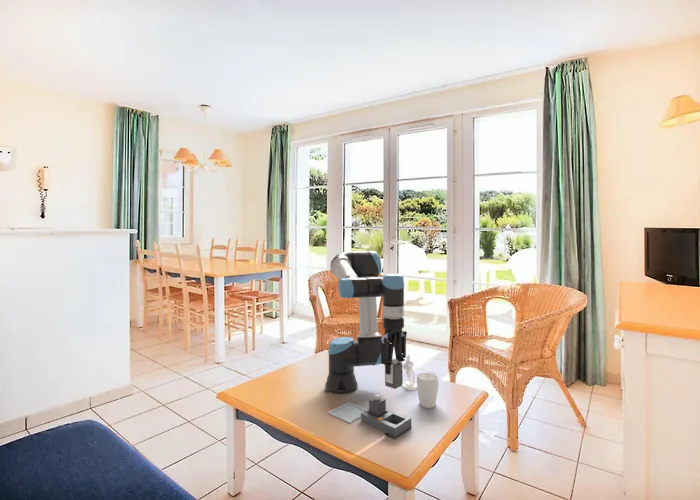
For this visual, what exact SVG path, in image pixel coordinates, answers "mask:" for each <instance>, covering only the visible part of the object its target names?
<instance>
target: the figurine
mask: <svg viewBox="0 0 700 500" xmlns="http://www.w3.org/2000/svg"><path fill="white" fill-rule="evenodd" d="M410 356H411V355H410V354H407V355H406V357H405V358H406V359H405V361H404V363H402V370H405V374H406V376H407V378H408V381H403V385H402V386H400V388H402V389H403V390H406V391H416V390H417V381H416V382H415V372H414V369H413V367H414V362H413V361H412V360H411V357H410ZM417 391H418V390H417Z"/></svg>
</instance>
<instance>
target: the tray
mask: <svg viewBox="0 0 700 500" xmlns="http://www.w3.org/2000/svg"><path fill="white" fill-rule="evenodd" d="M367 410H368V409H366V408H364V407H362V406H359V405H357V404H354V403H352V402H346V403H344V404H341V405H339V406H337V407H336V408H333V409H331V410H329V411H327V414H328V415H330V416H333V417H335V418H336V419H338V420H341V421H343V422H345V423H347V424H352V423H354V422H356V421H357V420H359V419H361V413H363V412H365V411H367Z"/></svg>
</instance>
